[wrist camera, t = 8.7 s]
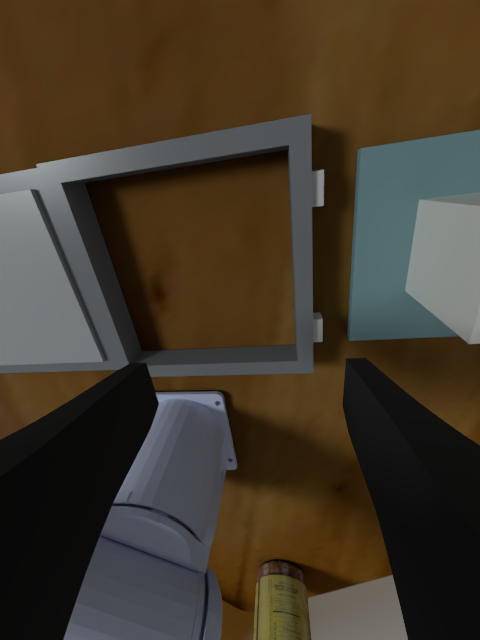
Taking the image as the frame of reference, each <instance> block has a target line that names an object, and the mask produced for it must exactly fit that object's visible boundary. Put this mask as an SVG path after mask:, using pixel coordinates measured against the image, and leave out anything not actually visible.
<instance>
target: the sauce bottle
mask: <svg viewBox="0 0 480 640" xmlns="http://www.w3.org/2000/svg"><path fill="white" fill-rule="evenodd" d="M254 640H311V633H310V620H309V608H308V597H307V589H306V585H305V577H304V575H303V572H302V570H301V569H299V568H297V567H296V566H295V565H292V564H290V563H287V562H283V561H279V560H273V561H270V562H267V563H264V564H262V565H261V566H260V567H259V569H258V582H257V584H256V598H255V619H254Z"/></svg>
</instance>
